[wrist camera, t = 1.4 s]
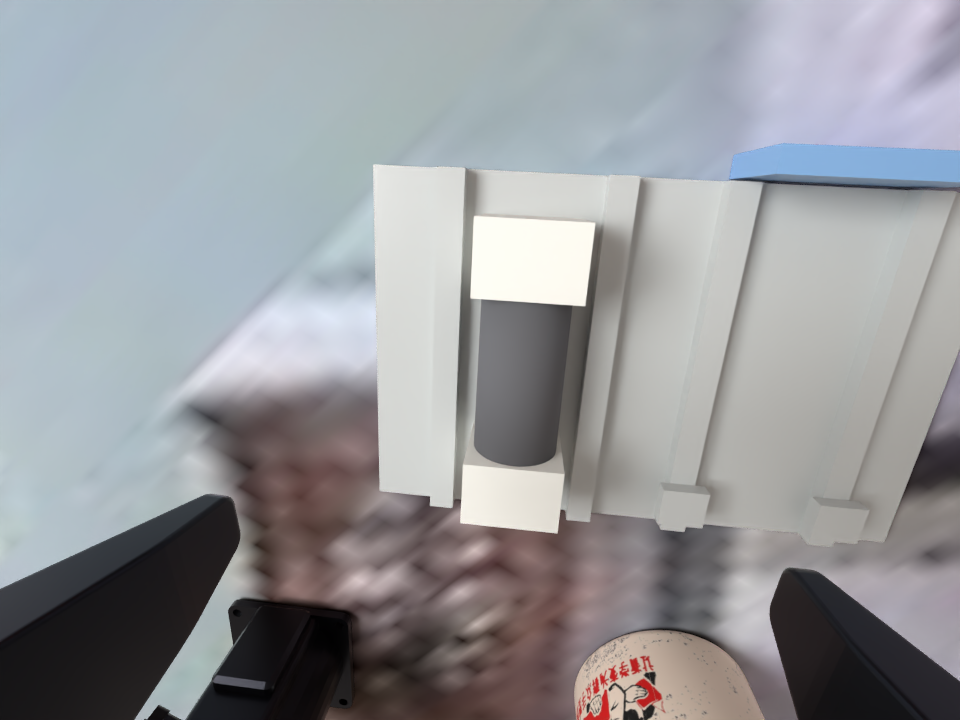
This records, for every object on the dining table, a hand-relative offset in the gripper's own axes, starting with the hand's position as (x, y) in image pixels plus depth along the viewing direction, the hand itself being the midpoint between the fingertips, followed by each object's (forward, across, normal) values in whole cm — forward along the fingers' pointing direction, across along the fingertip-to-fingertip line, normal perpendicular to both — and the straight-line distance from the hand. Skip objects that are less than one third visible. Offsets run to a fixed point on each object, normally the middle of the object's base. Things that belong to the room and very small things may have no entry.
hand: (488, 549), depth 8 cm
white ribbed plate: (+12, -5, +2) cm, 14 cm away
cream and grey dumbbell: (+12, 0, +1) cm, 12 cm away
